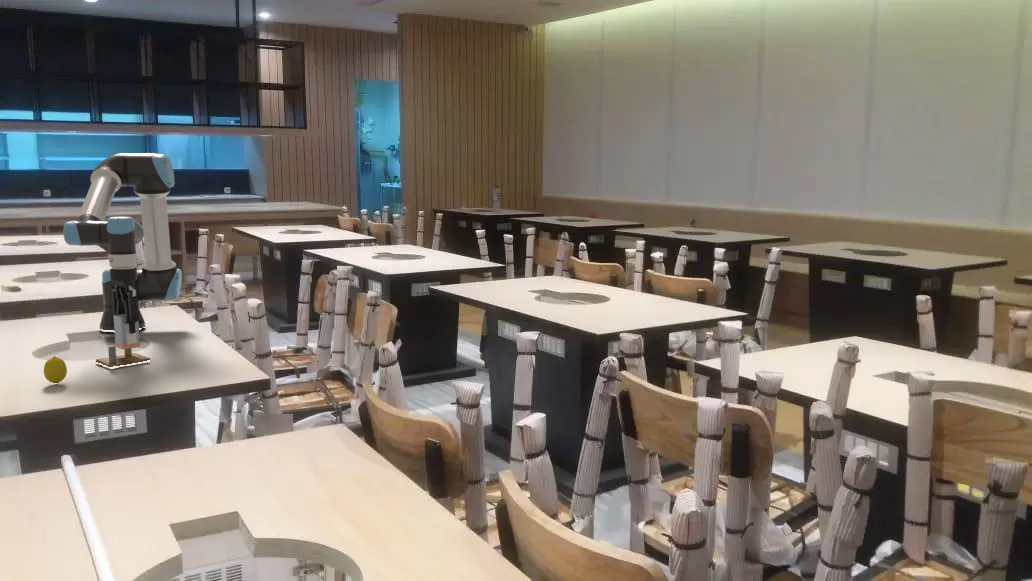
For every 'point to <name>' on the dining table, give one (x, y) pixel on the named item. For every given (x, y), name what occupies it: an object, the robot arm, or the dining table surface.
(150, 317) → the dining table surface
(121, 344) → the sleeve
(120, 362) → the pin board
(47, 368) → the lemon
